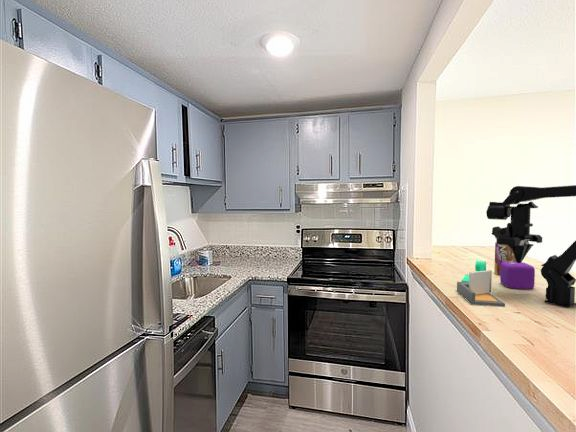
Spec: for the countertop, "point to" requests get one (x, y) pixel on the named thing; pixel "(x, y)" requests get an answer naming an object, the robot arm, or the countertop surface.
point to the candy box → (502, 256)
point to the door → (480, 281)
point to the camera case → (477, 296)
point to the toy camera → (517, 275)
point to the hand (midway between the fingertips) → (518, 262)
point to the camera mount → (476, 269)
